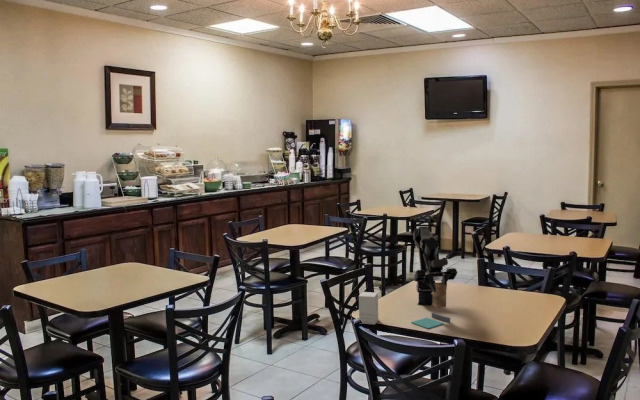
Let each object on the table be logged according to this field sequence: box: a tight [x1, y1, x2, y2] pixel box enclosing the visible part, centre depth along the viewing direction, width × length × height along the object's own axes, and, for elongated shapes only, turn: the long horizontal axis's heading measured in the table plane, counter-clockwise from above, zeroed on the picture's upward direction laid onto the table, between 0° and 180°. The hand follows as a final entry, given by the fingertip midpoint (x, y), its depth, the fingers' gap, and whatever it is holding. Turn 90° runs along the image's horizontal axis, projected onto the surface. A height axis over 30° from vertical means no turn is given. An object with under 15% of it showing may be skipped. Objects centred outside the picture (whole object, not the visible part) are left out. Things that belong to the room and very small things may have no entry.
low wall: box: [431, 312, 451, 324], centre depth 242 cm, size 10×1×2 cm, turn 36°
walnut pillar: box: [431, 282, 447, 309], centre depth 239 cm, size 5×5×10 cm
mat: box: [410, 317, 445, 330], centre depth 237 cm, size 10×10×1 cm
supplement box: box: [358, 291, 379, 325], centre depth 240 cm, size 7×7×13 cm
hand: (440, 291), depth 238 cm, fingers closed on walnut pillar, 5 cm apart
